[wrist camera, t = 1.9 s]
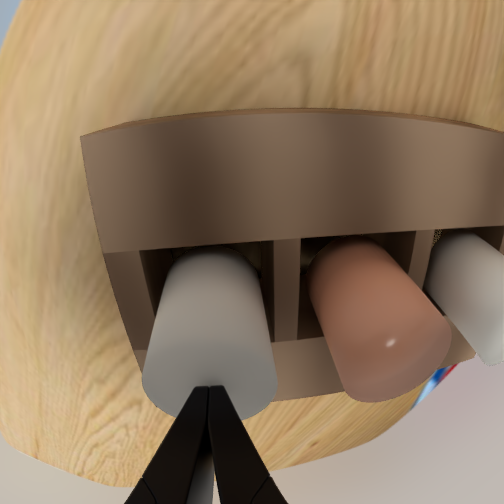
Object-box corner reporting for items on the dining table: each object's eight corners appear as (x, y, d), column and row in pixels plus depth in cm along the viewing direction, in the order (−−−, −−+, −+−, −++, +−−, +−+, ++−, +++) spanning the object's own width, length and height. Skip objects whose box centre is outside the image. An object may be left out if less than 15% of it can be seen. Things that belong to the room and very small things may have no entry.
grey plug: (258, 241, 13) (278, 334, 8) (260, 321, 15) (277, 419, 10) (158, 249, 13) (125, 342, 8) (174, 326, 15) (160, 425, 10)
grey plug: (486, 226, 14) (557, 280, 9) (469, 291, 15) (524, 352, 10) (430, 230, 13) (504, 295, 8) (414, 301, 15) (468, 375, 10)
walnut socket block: (471, 123, 15) (535, 141, 10) (437, 311, 22) (473, 357, 17) (124, 122, 14) (80, 136, 9) (166, 342, 21) (155, 406, 16)
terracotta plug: (394, 232, 13) (466, 304, 8) (381, 306, 15) (431, 388, 10) (307, 238, 13) (352, 325, 8) (303, 316, 15) (334, 411, 10)
